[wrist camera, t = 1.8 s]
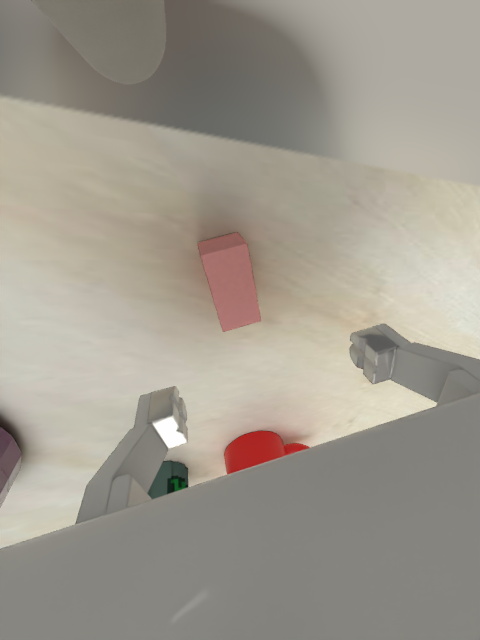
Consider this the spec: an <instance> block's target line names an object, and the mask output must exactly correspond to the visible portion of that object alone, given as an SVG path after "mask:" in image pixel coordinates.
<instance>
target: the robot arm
mask: <svg viewBox="0 0 480 640" xmlns="http://www.w3.org/2000/svg"><path fill="white" fill-rule="evenodd" d="M350 341H351V342H352V343H353V344H352V345H351V347H350V357H351V359H352V361H353V363H354V364H355V365H356V366H357V367H358V368H361V369H363V374H364V375H365V376H366V378H367V379H368V380H369V381H370V382H371V383H372V384H376V383H379V382H383V381H386V380H390V379H391V380H392V381H394V382H396V383H398V384H400V385H402V386H404V387H406V388H408V389H410V390H412V391H414V392H416V393H418V394H421V395H423V396H425V397H427V398H429V399H431V400H433V401H435V402H437V405H436V407H433V408H430V409H427V410H423V411H420V412H417V413H414V414H411V415H408V416H405V417H402V418H399V419H396V420H393V421H390V422H387V423H384V424H381V425H378V426H375V427H372V428H368V429H365V430H362V431H359V432H356V433H353V434H350V435H347V436H344V437H341V438H338V439H335V440H332V441H329V442H326V443H323V444H320V445H317V446H314V447H311V448H307V449H304V450H301V451H298V452H295V453H292V454H289V455H286V456H283V457H280V458H277V459H274V460H271V461H268V462H264V463H261V464H258V465H255V466H252V467H249V468H246V469H243V470H240V471H237V472H234V473H231V474H228V475H225V476H222V477H219V478H216V479H212V480H209V481H206V482H203V483H200V484H197V485H194V486H191V487H188V488H185V489H182V490H179V491H176V492H173V493H170V494H167V495H163V496H160V497H157V498H154V499H151V497H150V496H149V495H148V494H147V493H148V491H149V489H150V487H151V485H152V483H153V481H154V479H155V477H156V475H157V473H158V471H159V469H160V467H161V464H162V462H163V460H164V458H165V456H166V454H167V452H168V449H170V448H173V447H176V446H179V445H182V444H185V443H188V429H187V426H186V424H185V422H186V421H187V411H186V406H185V403H184V401H183V399H182V398H180V397H179V391H178V389H177V387H176V386H173V387H169V388H166V389H162V390H158V391H155V392H152V393H148V394H145V395H141V396H140V398H139V401H138V407H137V413H136V418H135V424H134V428H133V429H130V430H129V432H128V433H127V434H126V435H125V437H124V438H123V439H122V441H121V442H120V443H119V444H118V446H117V447H116V448H115V450H114V451H113V452H112V453H111V455H110V456H109V457H108V459H107V460H106V461H105V462H104V464H103V465H102V466H101V468H100V469H99V470H98V471H97V473H96V474H95V475H94V477H93V478H92V479H91V480H90V482H89V483H88V484H87V486H86V489H85V493H84V496H83V500H82V503H81V506H80V510H79V513H78V517H77V520H76V523H75V525H72V526H69V527H65V528H62V529H59V530H56V531H53V532H50V533H47V534H44V535H41V536H38V537H35V538H32V539H29V540H26V541H23V542H20V543H17V544H14V545H10V546H7V547H4V548H1V549H0V640H480V360H479V359H476V358H472V357H468V356H464V355H461V354H457V353H453V352H449V351H445V350H442V349H438V348H434V347H430V346H427V345H423V344H419V343H415V342H414V343H410V342H409V341H408V340H406V339H405V338H404V337H402V336H401V335H400V334H398V333H397V332H396V331H394V330H393V329H392V328H390V327H389V326H388V325H386V324H379V325H376V326H373V327H370V328H367V329H364V330H360V331H357V332H354V333H352V334H351V335H350Z"/></svg>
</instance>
